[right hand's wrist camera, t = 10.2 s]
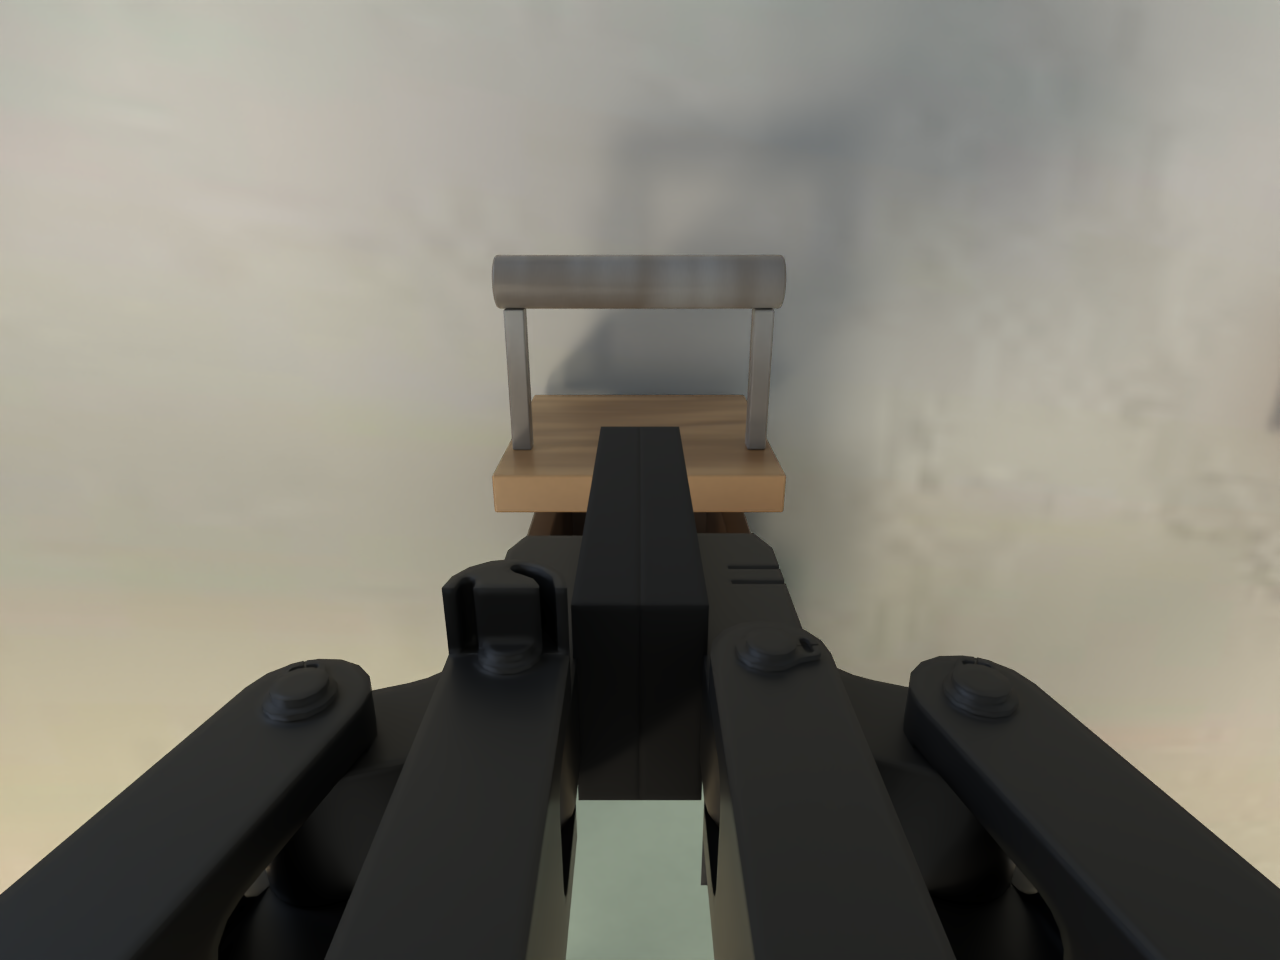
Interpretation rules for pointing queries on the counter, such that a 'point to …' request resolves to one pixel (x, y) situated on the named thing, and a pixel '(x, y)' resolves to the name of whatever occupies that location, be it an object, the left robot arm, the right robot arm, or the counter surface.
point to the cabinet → (639, 882)
